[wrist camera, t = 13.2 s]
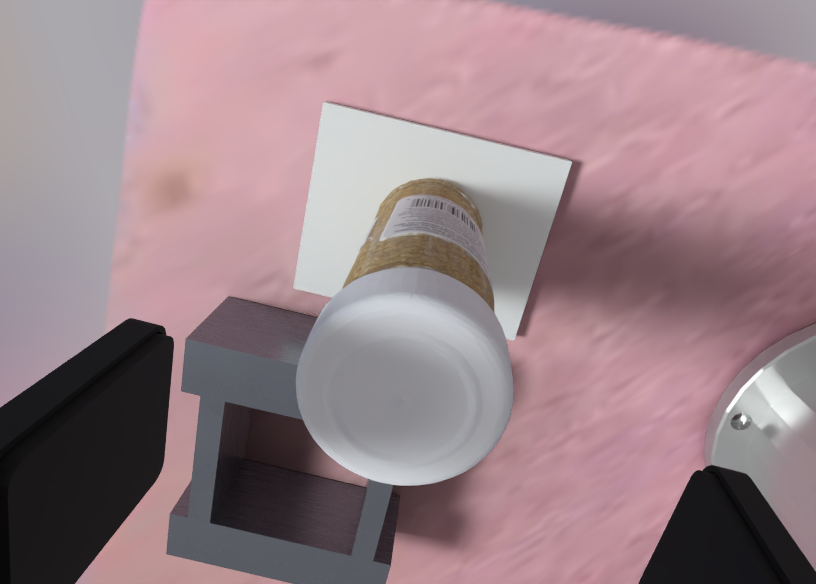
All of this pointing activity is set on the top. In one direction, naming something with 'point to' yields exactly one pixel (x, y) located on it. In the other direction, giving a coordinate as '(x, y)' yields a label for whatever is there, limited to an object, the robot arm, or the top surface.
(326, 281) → the rubber pad
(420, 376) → the sprinkles bottle
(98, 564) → the top surface
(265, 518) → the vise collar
